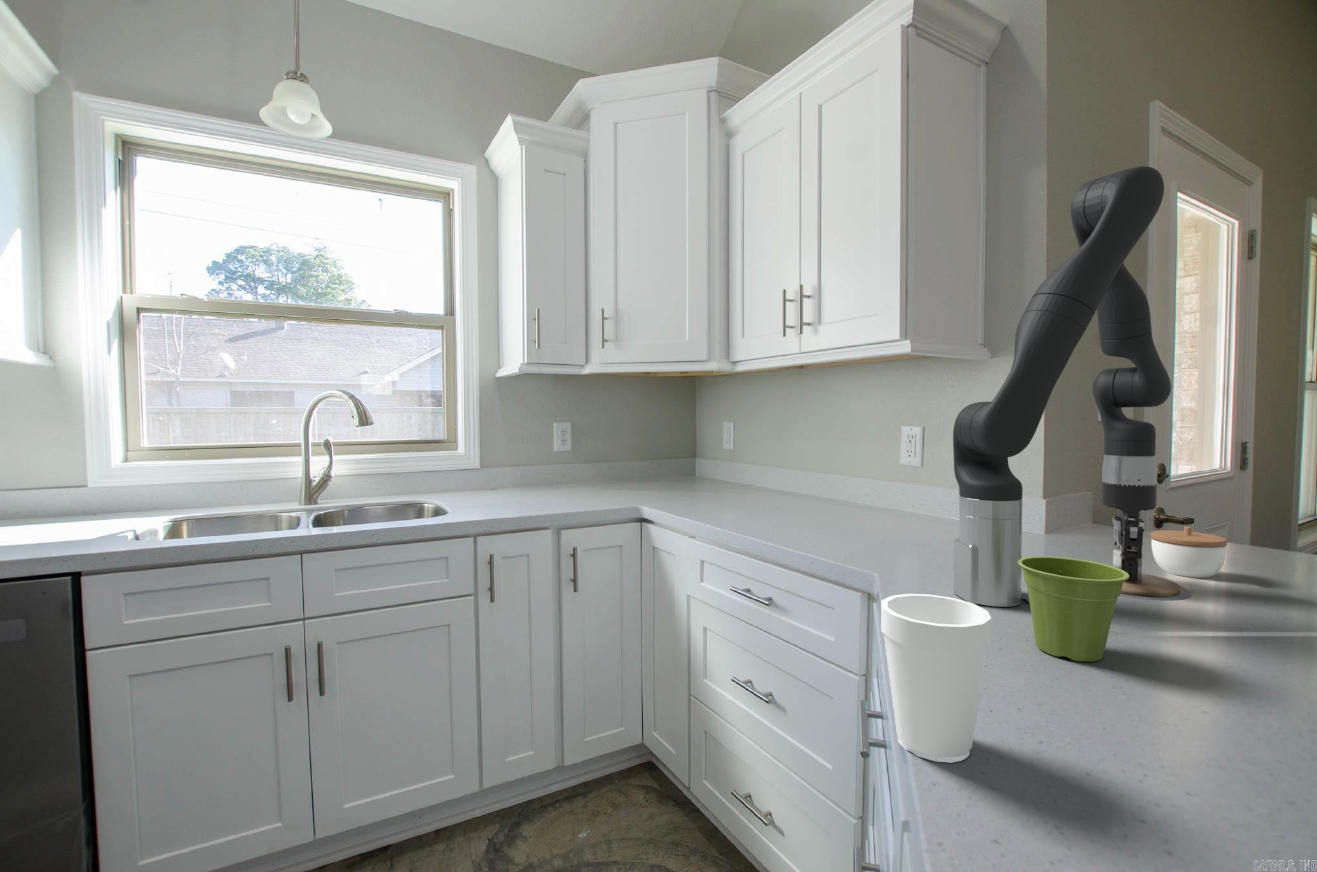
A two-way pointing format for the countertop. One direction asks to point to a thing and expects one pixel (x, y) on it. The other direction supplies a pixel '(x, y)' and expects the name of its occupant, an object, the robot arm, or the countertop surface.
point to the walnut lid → (1146, 582)
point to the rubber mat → (1183, 595)
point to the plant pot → (1072, 604)
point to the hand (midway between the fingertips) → (1127, 577)
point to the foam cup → (935, 669)
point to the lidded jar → (1188, 552)
